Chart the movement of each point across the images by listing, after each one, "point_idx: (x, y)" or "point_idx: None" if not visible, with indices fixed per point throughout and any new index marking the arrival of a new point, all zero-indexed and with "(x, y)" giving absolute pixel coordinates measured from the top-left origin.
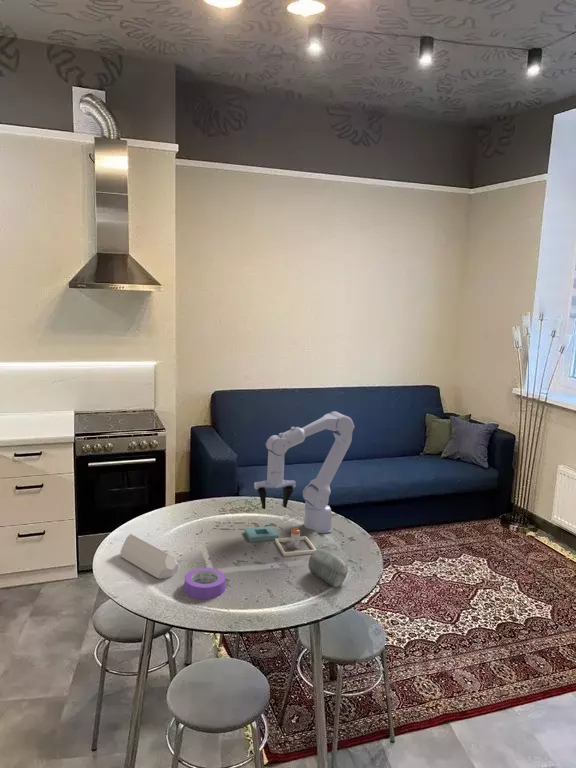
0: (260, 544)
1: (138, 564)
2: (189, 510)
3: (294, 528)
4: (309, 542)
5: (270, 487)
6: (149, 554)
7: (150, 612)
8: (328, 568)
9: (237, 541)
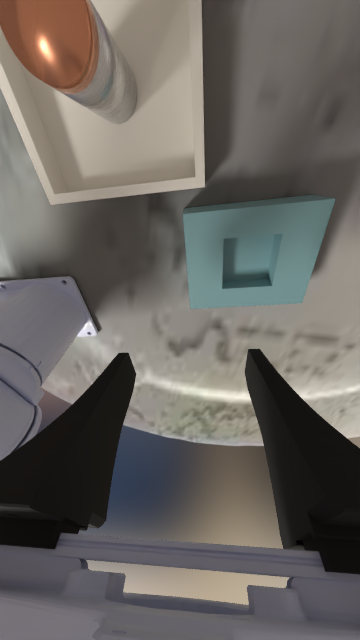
0: None
1: None
2: (347, 420)
3: (59, 63)
4: (16, 101)
5: (239, 555)
6: None
7: None
8: None
9: (337, 248)
